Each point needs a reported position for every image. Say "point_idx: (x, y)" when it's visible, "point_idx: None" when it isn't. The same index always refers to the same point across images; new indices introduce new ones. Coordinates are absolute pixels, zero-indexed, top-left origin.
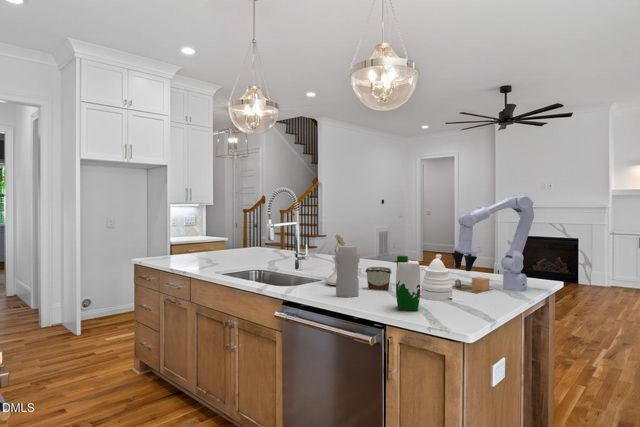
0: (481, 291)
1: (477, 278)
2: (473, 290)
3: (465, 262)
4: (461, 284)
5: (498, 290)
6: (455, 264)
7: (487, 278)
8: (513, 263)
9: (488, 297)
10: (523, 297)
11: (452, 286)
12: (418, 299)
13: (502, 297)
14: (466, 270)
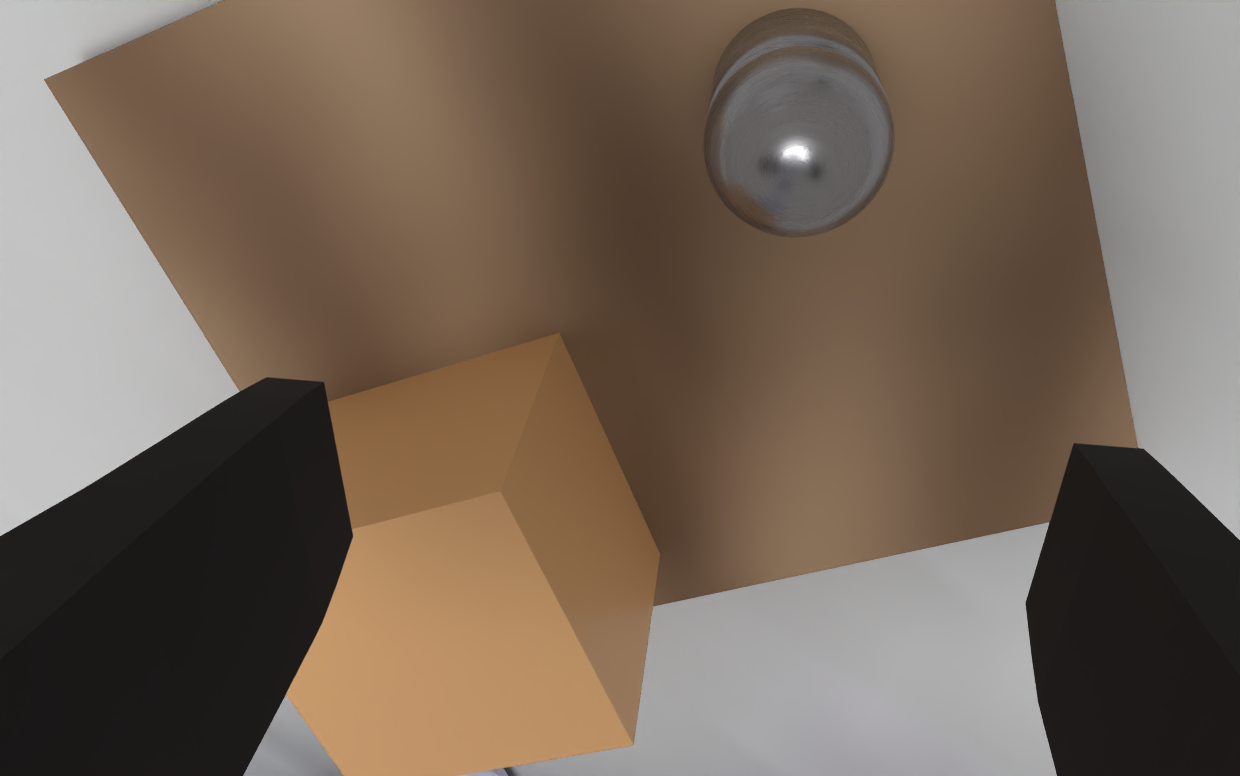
0: (273, 349)
1: (408, 576)
2: (397, 256)
3: (56, 611)
4: None
5: (537, 772)
6: (1196, 534)
7: (367, 764)
8: None
9: (8, 253)
10: None
11: (1009, 50)
12: None
13: (16, 481)
14: (265, 385)
